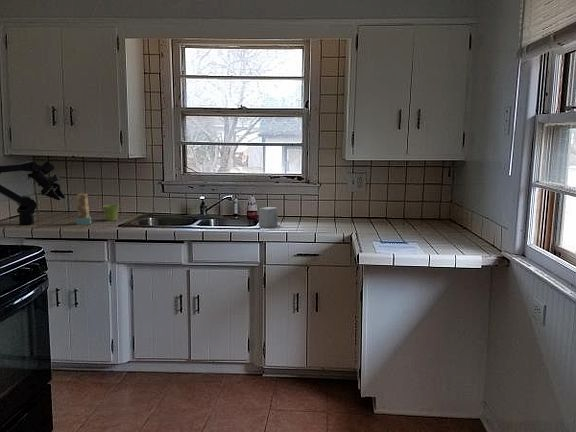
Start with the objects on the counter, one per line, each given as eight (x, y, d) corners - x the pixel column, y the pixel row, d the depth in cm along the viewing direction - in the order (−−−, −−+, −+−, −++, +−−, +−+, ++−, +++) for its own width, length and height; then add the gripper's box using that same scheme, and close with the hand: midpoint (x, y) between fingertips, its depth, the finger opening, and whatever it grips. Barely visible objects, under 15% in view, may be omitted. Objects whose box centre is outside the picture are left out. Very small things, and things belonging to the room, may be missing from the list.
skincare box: (268, 227, 296) (268, 209, 294) (258, 226, 299) (258, 208, 298) (278, 225, 305) (278, 207, 303) (268, 224, 308) (268, 206, 306)
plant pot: (109, 222, 310) (108, 207, 309) (100, 220, 315) (99, 205, 314) (123, 220, 317) (122, 205, 316) (113, 218, 323) (113, 204, 322)
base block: (76, 225, 299) (76, 218, 298) (78, 223, 305) (78, 216, 305) (89, 225, 300) (89, 218, 300) (91, 223, 307) (91, 216, 306)
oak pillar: (78, 217, 300) (76, 195, 297) (81, 216, 305) (79, 193, 302) (86, 217, 300) (84, 195, 297) (89, 216, 305) (87, 193, 302)
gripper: (45, 170, 293) (67, 190, 296) (56, 168, 311) (76, 187, 314) (31, 185, 293) (53, 204, 296) (42, 182, 311) (63, 200, 314)
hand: (62, 199), depth 305 cm, fingers open, 9 cm apart
